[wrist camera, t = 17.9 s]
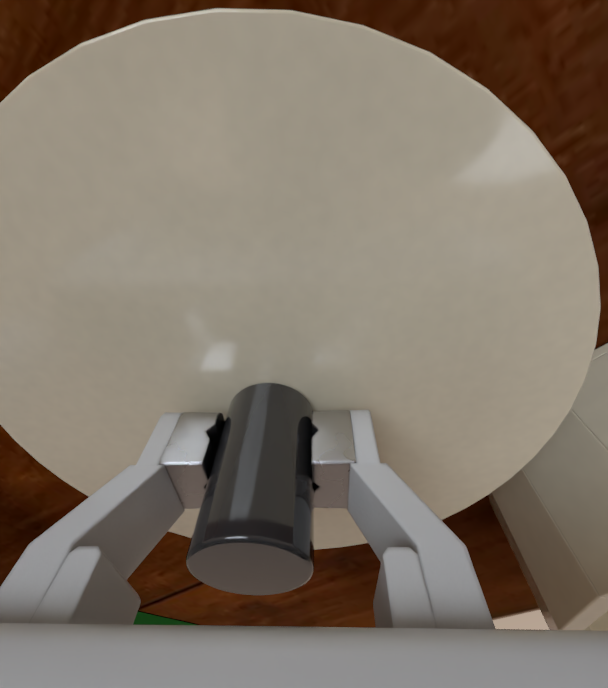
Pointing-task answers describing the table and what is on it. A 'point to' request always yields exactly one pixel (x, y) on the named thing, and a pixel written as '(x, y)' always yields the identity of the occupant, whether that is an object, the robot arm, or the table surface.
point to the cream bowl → (565, 512)
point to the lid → (283, 271)
